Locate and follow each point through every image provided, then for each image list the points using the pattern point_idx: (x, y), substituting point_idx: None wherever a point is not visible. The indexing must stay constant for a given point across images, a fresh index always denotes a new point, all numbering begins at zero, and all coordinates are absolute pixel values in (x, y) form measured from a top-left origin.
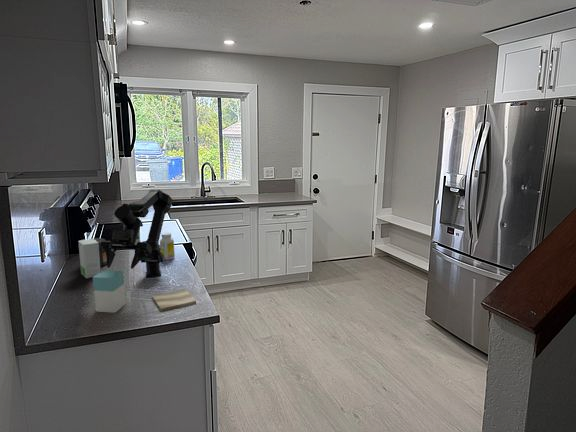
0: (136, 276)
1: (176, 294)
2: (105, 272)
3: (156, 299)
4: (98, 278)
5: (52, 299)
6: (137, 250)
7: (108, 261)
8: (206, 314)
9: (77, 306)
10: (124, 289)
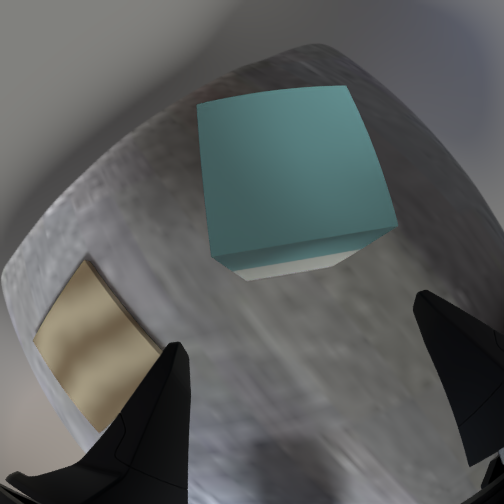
0: (376, 499)
1: (95, 385)
2: (342, 176)
3: (131, 331)
4: (302, 92)
5: (501, 232)
6: (56, 486)
7: (453, 319)
8: (8, 277)
9: (411, 206)
10: (237, 274)
